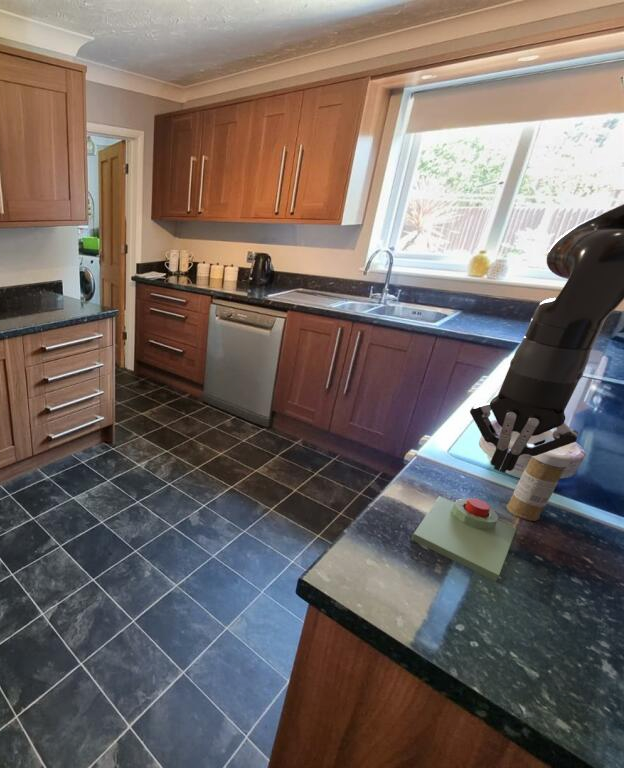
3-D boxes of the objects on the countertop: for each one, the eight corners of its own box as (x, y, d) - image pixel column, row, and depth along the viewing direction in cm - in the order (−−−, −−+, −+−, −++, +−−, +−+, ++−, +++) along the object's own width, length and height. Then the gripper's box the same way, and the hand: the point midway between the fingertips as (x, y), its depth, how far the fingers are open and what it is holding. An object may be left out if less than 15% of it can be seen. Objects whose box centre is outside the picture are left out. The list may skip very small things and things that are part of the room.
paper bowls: (579, 501, 80) (600, 466, 77) (478, 475, 87) (493, 442, 84) (556, 462, 92) (572, 431, 89) (468, 442, 99) (481, 412, 96)
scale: (437, 500, 79) (442, 487, 78) (514, 533, 72) (521, 519, 71) (410, 540, 70) (416, 526, 69) (495, 582, 62) (503, 567, 61)
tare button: (466, 503, 75) (470, 495, 74) (488, 512, 73) (492, 504, 72) (462, 511, 73) (466, 503, 72) (484, 520, 71) (488, 512, 70)
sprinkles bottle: (536, 511, 77) (569, 448, 72) (540, 525, 74) (576, 461, 68) (503, 501, 79) (533, 440, 74) (506, 515, 76) (538, 451, 71)
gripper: (610, 378, 60) (558, 478, 67) (491, 354, 69) (456, 445, 76) (608, 392, 55) (552, 498, 62) (481, 364, 64) (445, 460, 71)
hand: (499, 469), depth 69 cm, fingers closed
